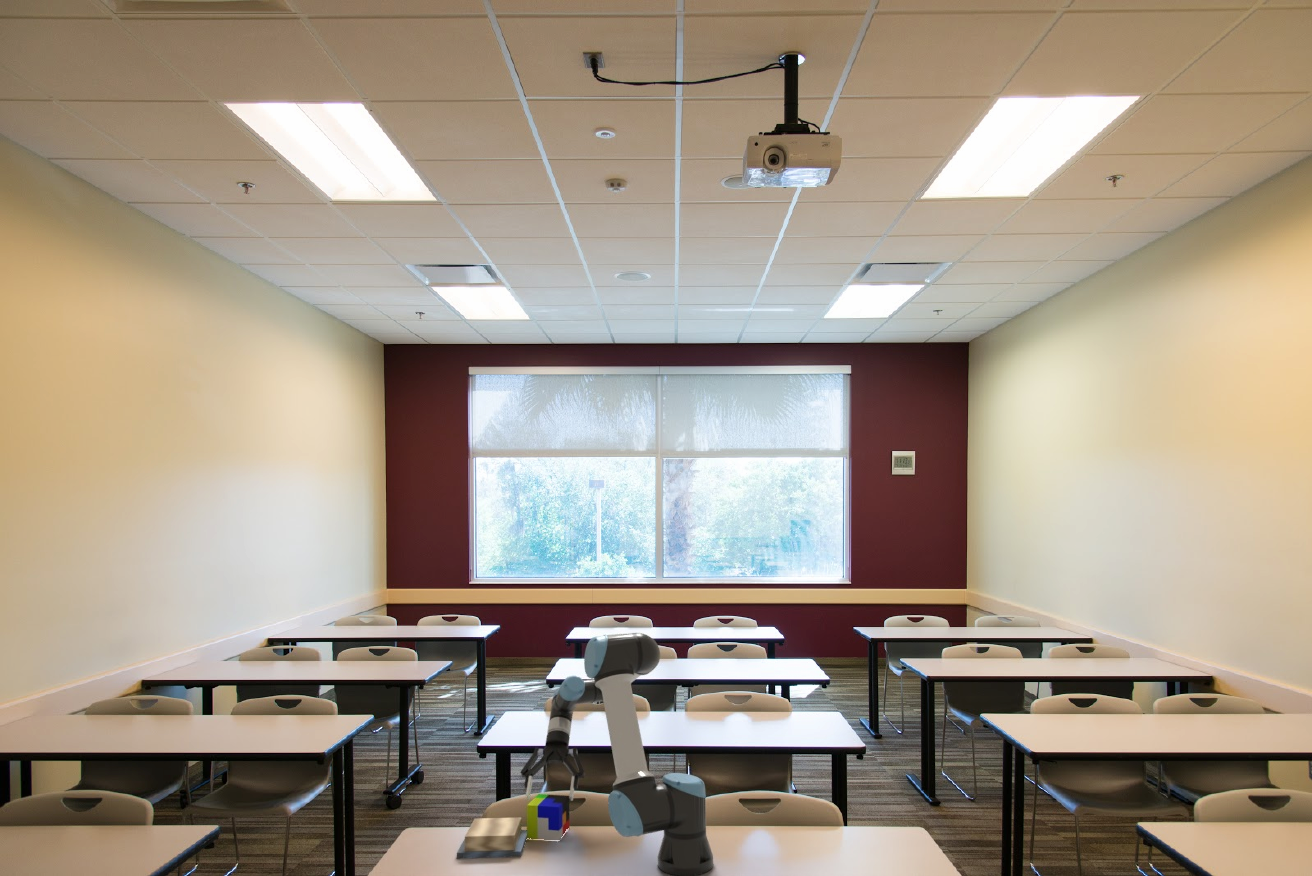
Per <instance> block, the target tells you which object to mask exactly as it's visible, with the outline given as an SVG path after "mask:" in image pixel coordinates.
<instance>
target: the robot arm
mask: <svg viewBox="0 0 1312 876" xmlns="http://www.w3.org/2000/svg"><path fill="white" fill-rule="evenodd" d="M583 659H584V660H583V661H584V672H585V674H586V677H587V678H588V679H582V677H580V676H577V675H573V674H572V675H569V676H567V677H566V678H565V679H564V680H563V681H562V683H561V684H560V686H559V689H558V690H557V691H554V693H553V695H552V699H551V705H550V715H549V721H548V725H547V734H546V739H545V746H544V748H539V747H538V746H535V748H534V751H533V753H532V755H531V756H530V758H529V759H528V760H527V762H526V763H525V765H524V766H523V767H522V769H521V770H520V774H521V777H522V778H524V779H525V780H524V788H525V789H526V792H525V798H526V801H530V799H531V794H532V793H531V792H532V786H533V777H534V776H535V775H536V774H538V772H539V771H541V770H542V768H543V767H544V766H547V765H548V764H560V763H563V765H564V766H565V767H566V769H567V770H568V771H569V772H570V774H571V781H570V789H569V795H568V796H569V802H571V801H574V796H575V795H574V794H575V790H578V788H579V782H580V781H579V780H580V779H585V778H586V773H585V770H584V767H583V766H582V763H581V761H580V759H579V755H578V748H577V746H574V747H573V748H569V746H570V735H571V730H572V729H571V728H572V723H573V722H572V721H573V715H574V711H575V709H576V707H577V705H582V704H583V705H584V704H590V703H599V702H603V706H604V712H605V717H606V718H605V719H606V723H607V729H608V735H609V741H610V746H611V750H612V751H611V752H612V757H613V758H612V759H613V763H614V768H615V775H616V778H615V781H614V782H613V784H612V789H613V790H612V792H610V793H609V794H608V798H607V802H608V804H607V807H608V815H609V817H610V820H611V823H612V825H613V827H614V829H615V830H616V831H617V833H618V834H619V835H620V836H622V837H625V838H631V837H640V836H643V835H647V834H652V833H657V832H661V831H663V837H662V840H661V844H660V846H659V850H658V851H659V852H658V855H657V866H658V868H659V870H661V871H662V872H664V873H666V874H669V875H674V876H698V875H702V874H706V873H707V872H709V871H710V870H711V869H712V868H713V867H714V854H713V852H712V849H711V846H710V843H709V839H708V836H707V815H706V813H707V812H706V811H707V810H706V809H707V808H706V806H707V805H706V803H707V802H706V798H707V794H706V786H705V782H704V781H703V780H702V779H701V778H700V777H698V776H695V775H692V774H688V773H681V772H669V773H666V774H664V775H663V777H662V779H661V780H662V782H661V783H660V782H658V783H657V782H656V777H655V775H654V774H653V773H651V772H650V771H649V770H648V765H647V761H646V756H645V750H644V745H643V739H642V735H641V730H640V725H639V720H638V715H637V714H638V713H637V711H636V710H637V709H636V704H635V700H634V695H633V690H632V683H633V682H635V680H637V679H638V678H640V677H641V676H645V675H646V676H647V675H648V674H650V673H651V672H653V671H654V670H655V669H656V668H657V666H658V665H659V663H660V659H661V651H660V648H659V645H658V643H657V642H656V640H655V639H654V638H652V637H651V636H650V635H648V634H644V633H641V632H629V633H619V634H618V633H617V634H603V635H600V636H599V635H598V636H594V637H592V638H590V640H589V641H588V643H587V645H586V647H585V651H584V658H583ZM542 754H543V756H541V755H542ZM569 754H570V756H571V757H573V760H574V762H575V765H576V767H577V770H578V771H577V770H576V769H575V767H574V766H573V765H572V763H571V761H569V759H568V756H569ZM539 757H541V759H539V760H538V758H539ZM537 760H538V761H537ZM529 795H530V796H529ZM526 796H527V797H526Z"/></svg>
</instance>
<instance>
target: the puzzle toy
mask: <svg viewBox="0 0 1312 876" xmlns="http://www.w3.org/2000/svg"><path fill="white" fill-rule="evenodd" d="M569 796H570V795H563V794H562V795H560V794H545V793H544V794H543V793H538V794H537V795H536V796H535V797H534V798H533V799H532V800H531V801H530V802H529V803H528V804H527V805H526V830H527V838H529V839H530V838H531V839H544V840H560V839H561V837H562V836H563V834H564V833H565V831H566V829H568V828H569V829H570V797H569ZM561 840H562V839H561Z"/></svg>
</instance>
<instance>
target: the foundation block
mask: <svg viewBox="0 0 1312 876" xmlns="http://www.w3.org/2000/svg"><path fill="white" fill-rule="evenodd" d="M526 839H527V829H522V817H486V818H485V817H482V818H481V817H480V818H474V819H473V821H472V822H471V825H470V827H469V828H468V830H467V832H466V834H465V835H464V838H463V840H462V843H461V845H460V846H459V848H458V850H457V852H456V860H458V859H493V858H494V859H495V858H497V859H499V858H521V857H522V856H523V852H524V850H523V848H524V849H525V847H524V845H525V846H526V844H525V842H526V843H527V841H526Z"/></svg>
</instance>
